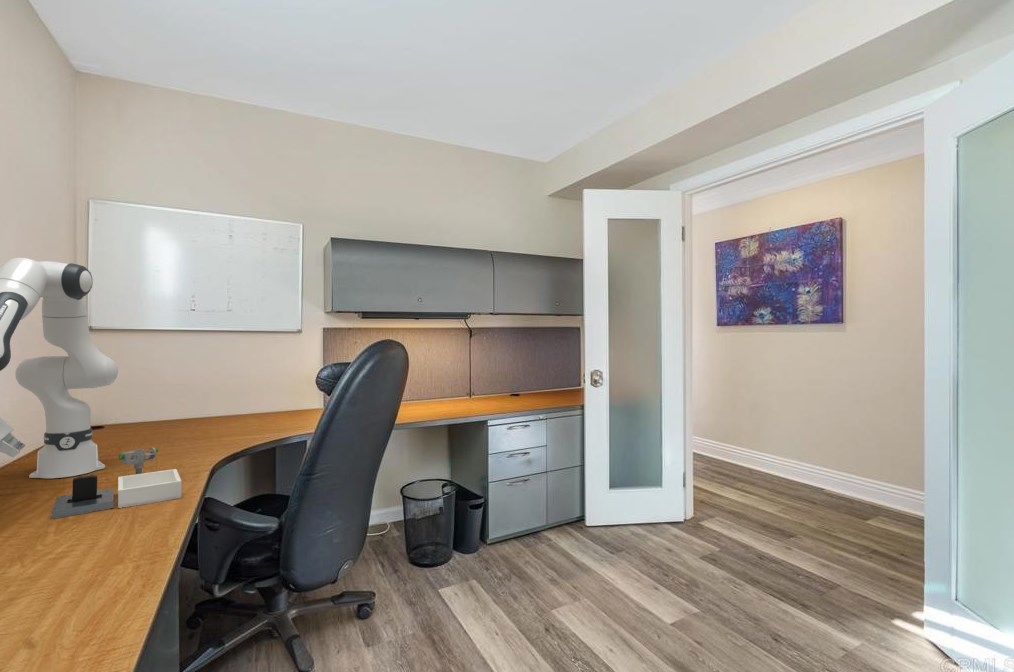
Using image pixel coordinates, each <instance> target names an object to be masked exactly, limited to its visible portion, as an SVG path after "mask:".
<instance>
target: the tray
mask: <svg viewBox="0 0 1014 672" xmlns="http://www.w3.org/2000/svg"><path fill="white" fill-rule="evenodd" d="M117 477H118V478H117V481H118V483H117V484H118V487H117V488H118V489H117V493H118V494H117V509H118V508H120V509H123V508H122V507H126V508H130V507H129V506H131V507H137V506H142V505H147V504H149V505H150V504H155V503H159V502H166V501H172V500H177V499H182V478H181V476H180V474H179V472H178V470H177V468H174V469H166V470H158V471H151V472H145V473H143V472H142V474H136V473H135V474H130V475H124V476H123V475H122V476H117ZM136 505H137V506H136Z"/></svg>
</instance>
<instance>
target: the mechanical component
mask: <svg viewBox="0 0 1014 672" xmlns="http://www.w3.org/2000/svg"><path fill="white" fill-rule="evenodd" d="M148 451H149V452H147V451H146V450H145V449H143V448H139V449H135V450H134V449H133V450H130V451H129V450H127V451H123V452H120V454H119V455H118V460H120V461H121V464H122V465H127V466H132V465H133V469H135V475H136V474H143V468H145V466H144V463H146V462H151V461H154V460H156V458H157V453H158V451H159V449H158V447H150V448H149V450H148ZM146 457H148V458H146Z"/></svg>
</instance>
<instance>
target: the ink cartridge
mask: <svg viewBox="0 0 1014 672" xmlns="http://www.w3.org/2000/svg"><path fill="white" fill-rule="evenodd" d="M98 479H99V478H98V475H94V474H91V475H85V476H84V475H83V476H77V477H73V479H72V493H71V494H72V503H73V502H80V501H86V500H92V499H97V491H98Z"/></svg>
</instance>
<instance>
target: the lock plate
mask: <svg viewBox="0 0 1014 672" xmlns="http://www.w3.org/2000/svg"><path fill="white" fill-rule="evenodd" d="M114 495H115V488H114V487H112V488H105V489H97V499H92V500H86V501H80V502H73V503H72V493H71V494H66V495H58V496H56V499H55V501H54V504H53V507H52V509H51V520H54V519H60V518H66V517H72V516H78V515H83V514H89V513H88V512H90V513H93V512H92V511H96V512H99V511H98V510H102V511H105V510H104V509H108V510H110V509H109V508H113V509H114V504H115V503H114V501H115V500H114V497H115V496H114Z"/></svg>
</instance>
